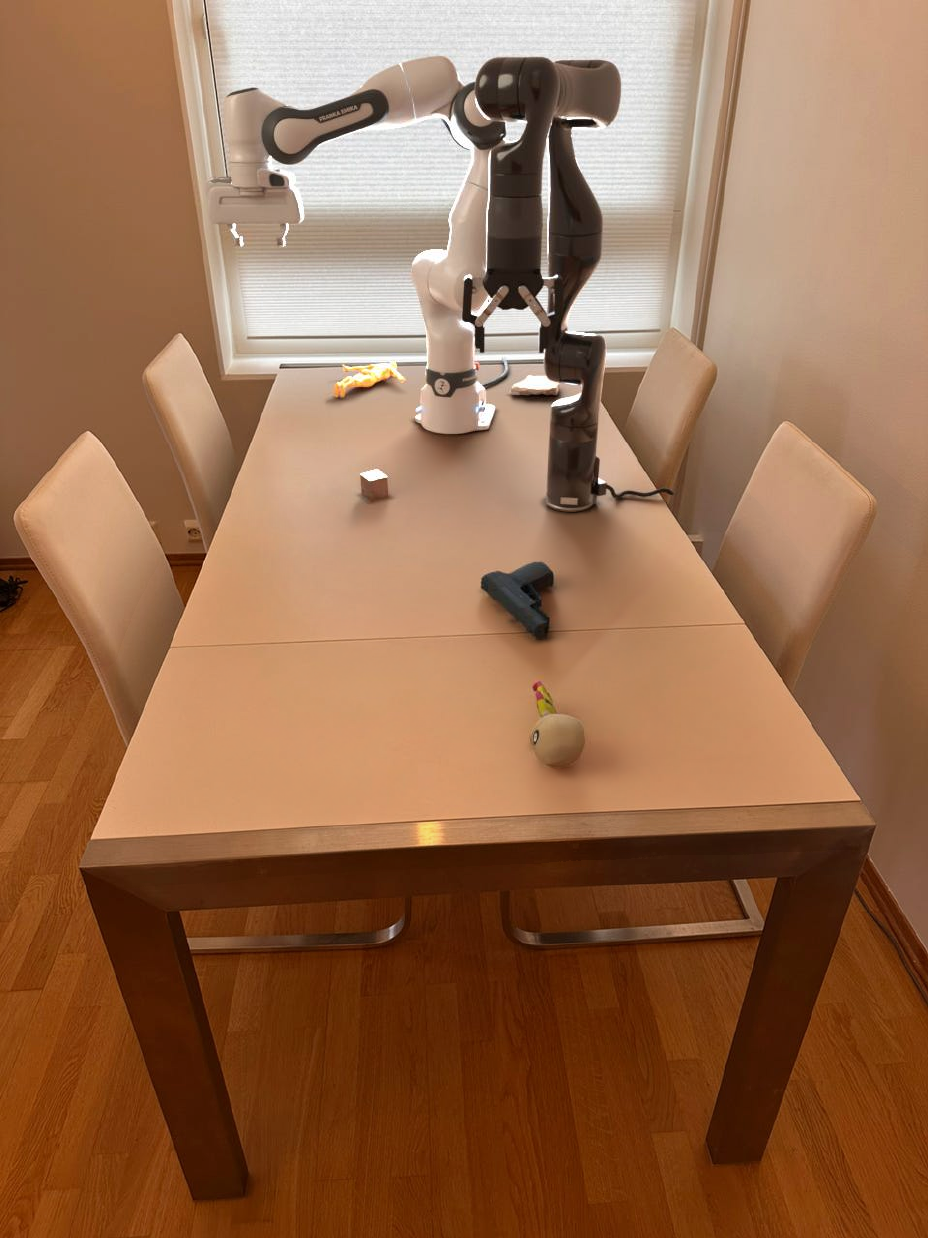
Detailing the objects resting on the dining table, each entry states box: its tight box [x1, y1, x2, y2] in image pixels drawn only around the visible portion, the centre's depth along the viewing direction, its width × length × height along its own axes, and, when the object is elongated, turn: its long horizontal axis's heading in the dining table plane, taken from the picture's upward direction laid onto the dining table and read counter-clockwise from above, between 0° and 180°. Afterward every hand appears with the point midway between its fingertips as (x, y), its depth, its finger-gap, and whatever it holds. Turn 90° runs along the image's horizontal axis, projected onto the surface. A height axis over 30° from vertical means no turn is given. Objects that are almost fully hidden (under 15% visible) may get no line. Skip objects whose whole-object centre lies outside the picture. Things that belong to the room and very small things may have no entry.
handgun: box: [480, 561, 555, 640], centre depth 143 cm, size 3×18×12 cm
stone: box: [509, 375, 560, 396], centre depth 238 cm, size 13×12×2 cm
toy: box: [529, 680, 586, 769], centre depth 115 cm, size 6×7×15 cm
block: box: [359, 469, 390, 503], centre depth 180 cm, size 4×4×5 cm
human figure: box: [333, 361, 408, 398], centre depth 242 cm, size 20×20×4 cm
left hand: (260, 245), depth 197 cm, fingers open, 8 cm apart
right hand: (511, 351), depth 129 cm, fingers open, 8 cm apart
